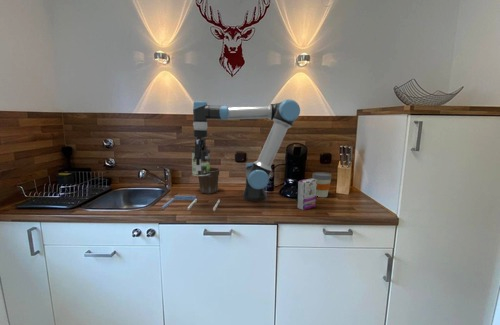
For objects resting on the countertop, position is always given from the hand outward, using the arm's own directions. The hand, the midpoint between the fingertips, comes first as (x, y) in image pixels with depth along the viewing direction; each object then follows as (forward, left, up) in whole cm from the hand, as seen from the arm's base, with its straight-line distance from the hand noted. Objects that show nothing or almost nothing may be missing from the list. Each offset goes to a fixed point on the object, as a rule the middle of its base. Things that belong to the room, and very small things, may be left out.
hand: (201, 168), depth 136 cm
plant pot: (+3, -29, -22) cm, 37 cm away
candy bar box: (-61, -2, -22) cm, 65 cm away
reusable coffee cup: (-75, -27, -22) cm, 83 cm away
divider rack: (+6, 0, -22) cm, 23 cm away
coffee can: (0, 0, -3) cm, 3 cm away
